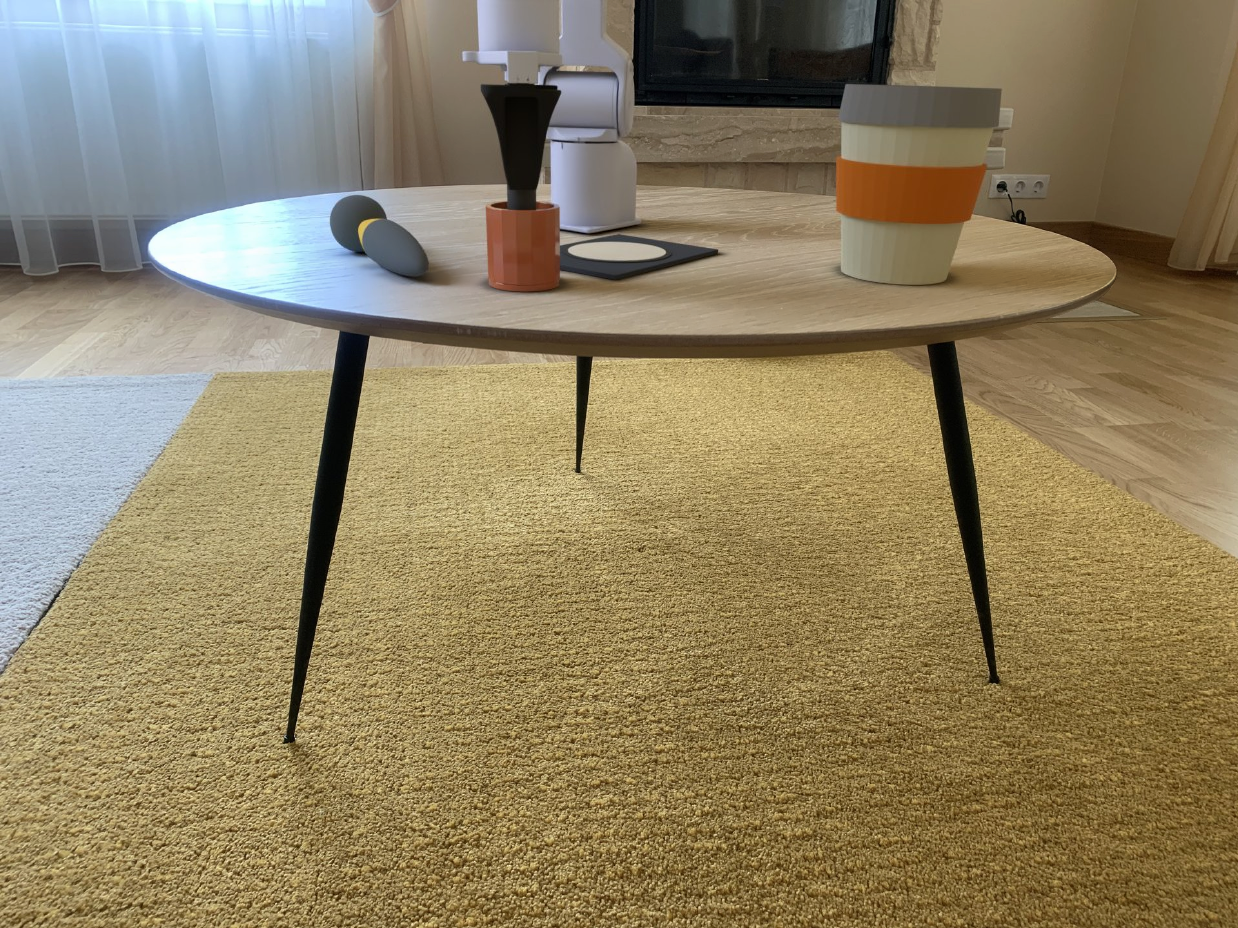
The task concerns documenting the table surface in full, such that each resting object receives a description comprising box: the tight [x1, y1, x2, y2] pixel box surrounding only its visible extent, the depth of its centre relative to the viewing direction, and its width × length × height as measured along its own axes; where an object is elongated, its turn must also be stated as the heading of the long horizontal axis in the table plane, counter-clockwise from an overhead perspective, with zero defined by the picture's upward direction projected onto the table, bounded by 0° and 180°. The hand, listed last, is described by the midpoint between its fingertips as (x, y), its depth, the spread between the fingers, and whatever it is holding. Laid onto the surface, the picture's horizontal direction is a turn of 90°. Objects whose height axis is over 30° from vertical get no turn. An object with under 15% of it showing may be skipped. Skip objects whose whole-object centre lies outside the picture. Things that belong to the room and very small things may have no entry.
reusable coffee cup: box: [835, 83, 1003, 286], centre depth 73 cm, size 13×13×15 cm
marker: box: [506, 183, 537, 210], centre depth 65 cm, size 2×2×9 cm
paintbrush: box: [329, 194, 430, 277], centre depth 74 cm, size 20×5×5 cm, turn 38°
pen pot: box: [485, 200, 561, 293], centre depth 68 cm, size 6×6×6 cm
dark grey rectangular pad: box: [560, 233, 719, 281], centre depth 80 cm, size 16×12×1 cm
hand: (522, 187), depth 66 cm, fingers closed on marker, 2 cm apart
